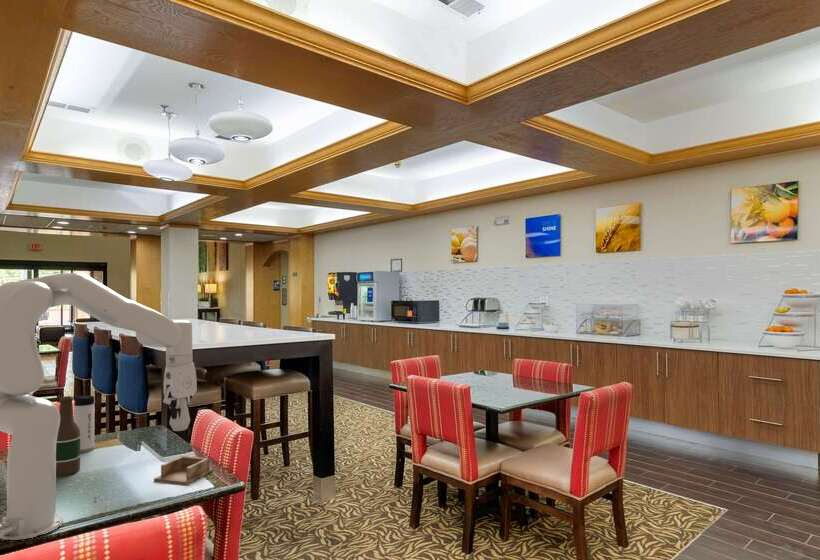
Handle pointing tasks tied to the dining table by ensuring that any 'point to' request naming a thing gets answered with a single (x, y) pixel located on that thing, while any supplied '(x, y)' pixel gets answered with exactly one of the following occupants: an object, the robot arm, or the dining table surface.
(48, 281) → the robot arm
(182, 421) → the salt shaker
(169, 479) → the walnut U-rest
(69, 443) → the beer bottle
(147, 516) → the dining table surface
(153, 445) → the dining table surface
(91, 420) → the travel mug
